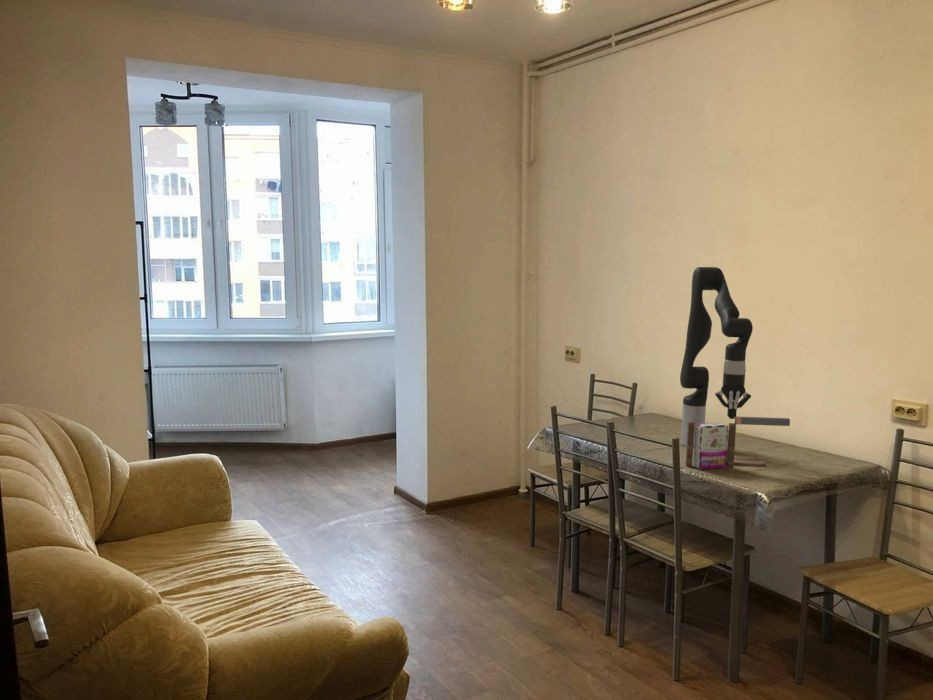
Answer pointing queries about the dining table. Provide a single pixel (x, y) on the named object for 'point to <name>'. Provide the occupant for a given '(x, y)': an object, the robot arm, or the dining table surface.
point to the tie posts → (729, 451)
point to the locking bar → (762, 421)
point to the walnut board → (748, 460)
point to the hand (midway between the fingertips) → (731, 418)
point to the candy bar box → (710, 445)
